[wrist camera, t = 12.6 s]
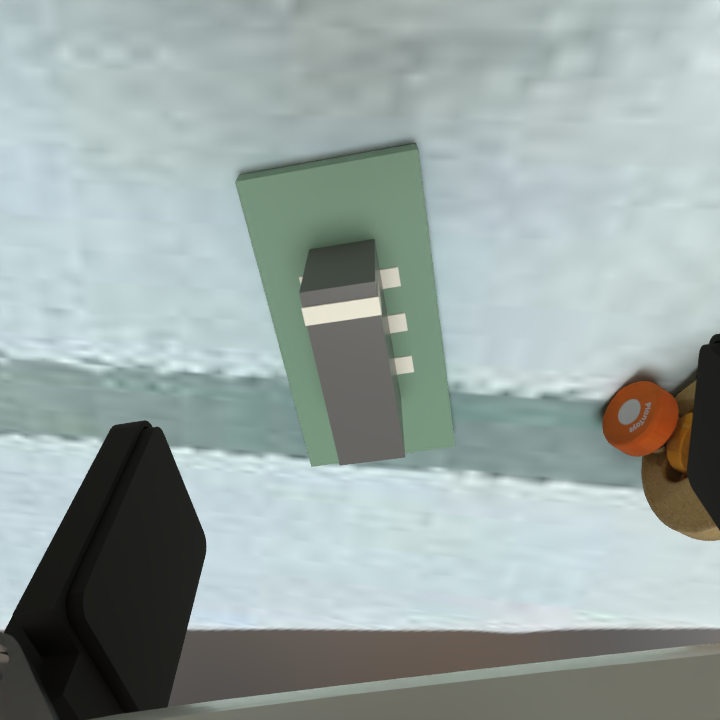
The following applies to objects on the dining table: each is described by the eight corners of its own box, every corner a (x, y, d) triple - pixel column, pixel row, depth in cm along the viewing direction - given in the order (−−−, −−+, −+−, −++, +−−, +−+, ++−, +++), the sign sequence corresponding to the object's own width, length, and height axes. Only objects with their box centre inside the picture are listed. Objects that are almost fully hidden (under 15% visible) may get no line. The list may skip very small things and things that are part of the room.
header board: (239, 175, 37) (222, 203, 32) (415, 143, 36) (425, 167, 31) (312, 453, 47) (308, 506, 42) (452, 432, 46) (463, 484, 41)
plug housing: (308, 249, 37) (297, 293, 32) (375, 239, 37) (376, 281, 32) (342, 406, 43) (338, 466, 38) (401, 398, 43) (406, 458, 37)
